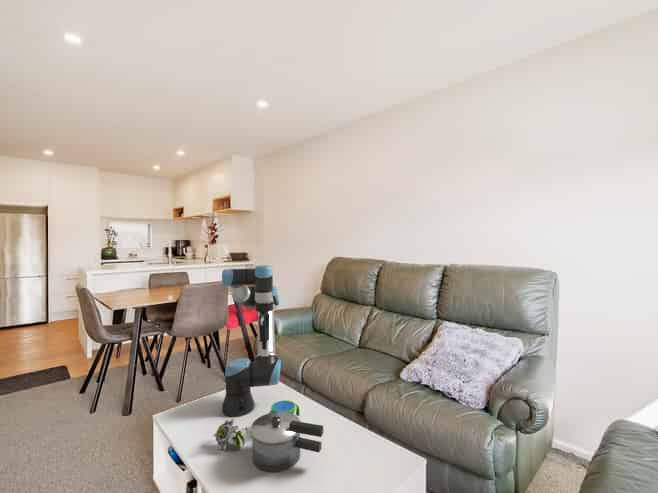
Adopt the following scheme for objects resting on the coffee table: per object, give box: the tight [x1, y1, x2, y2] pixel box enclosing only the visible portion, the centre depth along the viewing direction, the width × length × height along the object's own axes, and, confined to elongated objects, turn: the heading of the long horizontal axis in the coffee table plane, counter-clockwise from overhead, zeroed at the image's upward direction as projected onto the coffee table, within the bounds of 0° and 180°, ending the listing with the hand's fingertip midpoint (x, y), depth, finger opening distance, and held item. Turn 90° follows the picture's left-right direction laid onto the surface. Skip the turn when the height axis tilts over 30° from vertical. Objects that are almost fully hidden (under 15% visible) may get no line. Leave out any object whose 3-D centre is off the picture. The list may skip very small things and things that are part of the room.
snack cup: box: [268, 399, 301, 417], centre depth 145 cm, size 16×10×10 cm
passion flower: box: [213, 418, 249, 451], centre depth 134 cm, size 11×11×12 cm
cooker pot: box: [251, 433, 323, 474], centre depth 126 cm, size 18×27×10 cm, turn 70°
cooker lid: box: [250, 412, 324, 445], centre depth 126 cm, size 28×19×4 cm
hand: (264, 355), depth 144 cm, fingers closed
